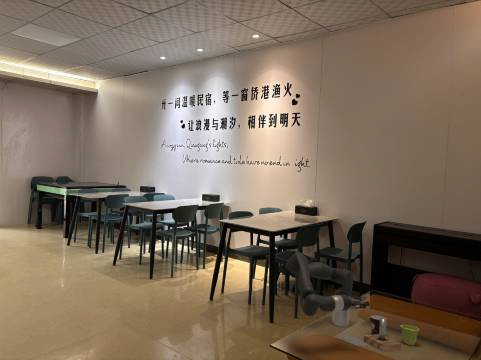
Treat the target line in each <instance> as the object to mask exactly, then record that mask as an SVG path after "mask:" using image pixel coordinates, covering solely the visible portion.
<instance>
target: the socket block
mask: <svg viewBox="0 0 481 360" xmlns="http://www.w3.org/2000/svg"><path fill="white" fill-rule="evenodd" d="M363 341H364V342H366V343H368V344H370V345H369V346H371V347H374V348H375V349H377V350H380V351H382V352H391V351H392V352H393V351H400V350H402V342H399V341H396V340H395V339H393V338H390V337H388V336H385V341H380V340H379V334H376V335H372V334H365V335H363Z"/></svg>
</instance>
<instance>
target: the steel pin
mask: <svg viewBox="0 0 481 360" xmlns="http://www.w3.org/2000/svg"><path fill="white" fill-rule="evenodd" d="M384 318H385V317H384ZM384 318H380V328H379V340H380V341H385V336H386V333H387V322H386V320H387V321H388V319H387V318H386V319H384ZM386 337H387V336H386Z"/></svg>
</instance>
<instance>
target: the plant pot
mask: <svg viewBox="0 0 481 360" xmlns="http://www.w3.org/2000/svg"><path fill="white" fill-rule="evenodd" d="M400 328H401V335H402V343H406V344H405V345H407V344H408V345H407V346H415V345H416V343H417V337H418V334H419V331H420V328H418V327H417V326H414V325H411V324H410V325H409V324H400ZM414 344H415V345H414Z"/></svg>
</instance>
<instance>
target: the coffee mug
mask: <svg viewBox="0 0 481 360" xmlns="http://www.w3.org/2000/svg"><path fill="white" fill-rule="evenodd" d="M380 318H384V319H387V318H386V317H383V316H380V315H371V316H370V318H369V320H370V321H369V322H370V323H371V324H370V325H371V335H372V334H373V335H376V334H379V328H380ZM387 321H388V319H387V320H386V323H387Z"/></svg>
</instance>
